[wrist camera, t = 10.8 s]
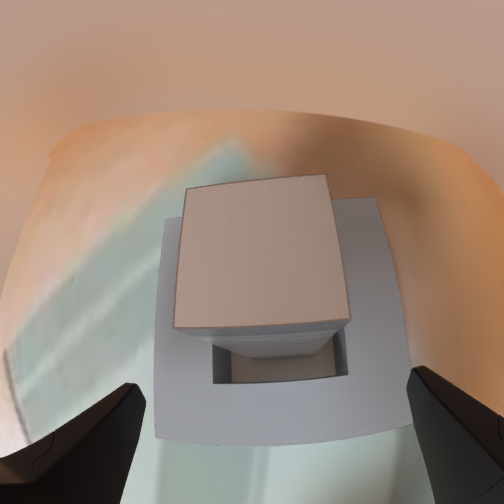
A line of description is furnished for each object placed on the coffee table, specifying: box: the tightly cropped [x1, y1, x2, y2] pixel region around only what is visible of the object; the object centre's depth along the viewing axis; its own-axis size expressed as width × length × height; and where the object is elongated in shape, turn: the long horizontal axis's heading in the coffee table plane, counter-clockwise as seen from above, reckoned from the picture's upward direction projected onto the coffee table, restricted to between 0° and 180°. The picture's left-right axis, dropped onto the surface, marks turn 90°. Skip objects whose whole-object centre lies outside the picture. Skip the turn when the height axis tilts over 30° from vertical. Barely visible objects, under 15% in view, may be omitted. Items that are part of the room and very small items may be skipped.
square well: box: [154, 197, 413, 446], centre depth 17 cm, size 14×14×5 cm
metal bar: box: [172, 174, 352, 360], centre depth 13 cm, size 4×4×13 cm
